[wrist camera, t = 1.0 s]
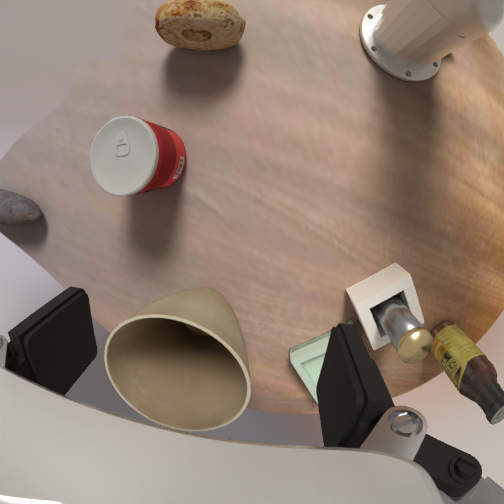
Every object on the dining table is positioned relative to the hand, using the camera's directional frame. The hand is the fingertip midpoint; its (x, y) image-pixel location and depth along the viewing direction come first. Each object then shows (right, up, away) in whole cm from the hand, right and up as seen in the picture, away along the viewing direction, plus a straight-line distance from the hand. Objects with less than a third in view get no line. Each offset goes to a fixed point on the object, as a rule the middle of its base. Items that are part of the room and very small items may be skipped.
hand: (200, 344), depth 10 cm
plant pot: (-5, -5, +31) cm, 32 cm away
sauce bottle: (+33, -11, +30) cm, 46 cm away
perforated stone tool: (-37, +11, +28) cm, 48 cm away
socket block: (+20, -3, +29) cm, 35 cm away
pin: (+20, -3, +29) cm, 35 cm away
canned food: (-10, +15, +26) cm, 31 cm away
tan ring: (-4, +31, +21) cm, 37 cm away
